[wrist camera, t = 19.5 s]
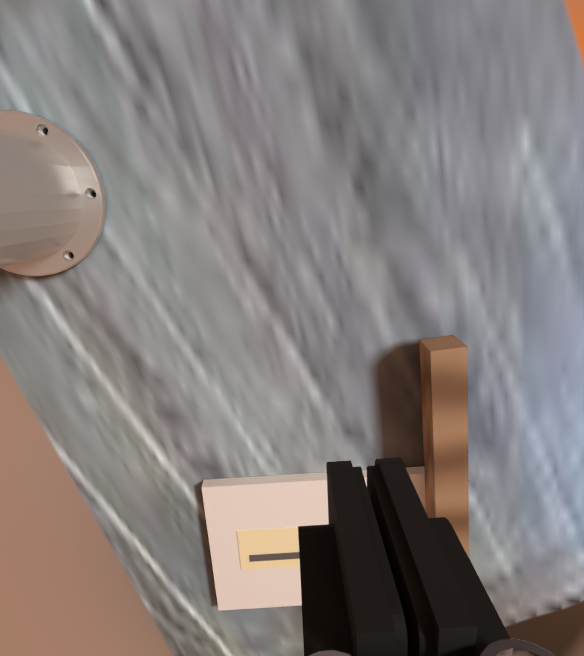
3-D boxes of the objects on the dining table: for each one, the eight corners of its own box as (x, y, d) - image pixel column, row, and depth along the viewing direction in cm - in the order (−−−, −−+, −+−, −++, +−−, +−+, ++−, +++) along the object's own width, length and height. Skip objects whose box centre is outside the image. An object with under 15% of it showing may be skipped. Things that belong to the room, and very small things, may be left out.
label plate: (220, 600, 48) (218, 612, 47) (203, 479, 43) (200, 489, 42) (450, 585, 48) (455, 597, 47) (459, 464, 44) (465, 473, 42)
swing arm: (456, 550, 45) (470, 578, 41) (427, 553, 45) (439, 582, 41) (453, 335, 38) (469, 348, 34) (419, 339, 38) (432, 353, 34)
